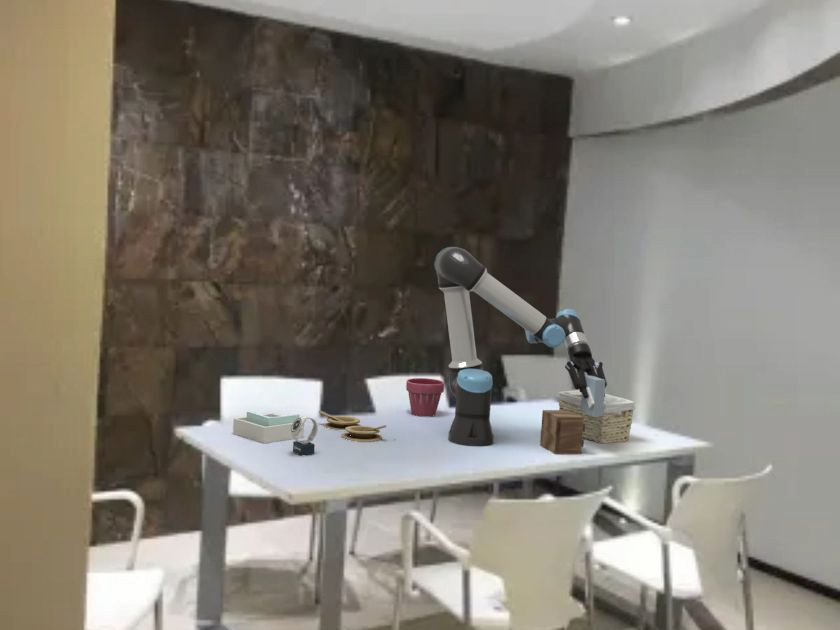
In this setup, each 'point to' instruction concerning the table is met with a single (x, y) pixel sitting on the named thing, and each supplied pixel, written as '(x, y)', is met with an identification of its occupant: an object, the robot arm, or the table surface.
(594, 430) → the storage basket
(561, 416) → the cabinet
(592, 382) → the grey rectangular block
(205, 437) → the table surface
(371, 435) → the tableware set
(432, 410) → the plant pot
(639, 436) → the table surface
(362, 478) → the table surface
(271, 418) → the mint green square box
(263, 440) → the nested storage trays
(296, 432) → the watch
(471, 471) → the table surface
